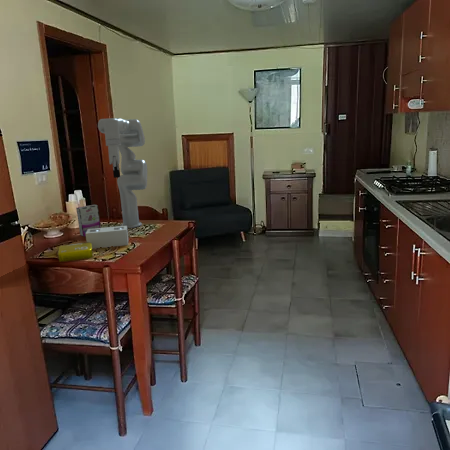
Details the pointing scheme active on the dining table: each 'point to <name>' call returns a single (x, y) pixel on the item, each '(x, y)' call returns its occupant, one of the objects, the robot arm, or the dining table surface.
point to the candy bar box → (88, 218)
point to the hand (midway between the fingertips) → (117, 177)
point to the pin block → (107, 237)
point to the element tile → (75, 252)
